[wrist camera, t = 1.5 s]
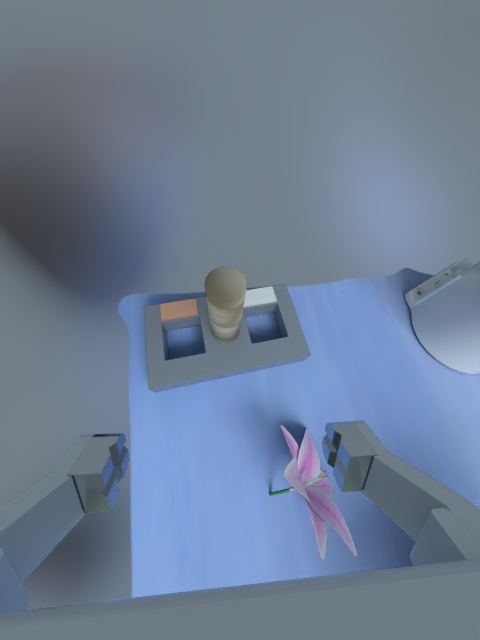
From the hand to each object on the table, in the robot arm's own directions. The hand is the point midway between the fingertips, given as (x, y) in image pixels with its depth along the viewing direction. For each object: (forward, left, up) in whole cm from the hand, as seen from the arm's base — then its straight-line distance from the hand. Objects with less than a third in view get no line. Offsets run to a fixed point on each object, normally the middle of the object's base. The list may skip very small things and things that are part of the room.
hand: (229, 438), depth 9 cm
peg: (-8, -10, -20) cm, 24 cm away
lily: (-3, +10, -23) cm, 26 cm away
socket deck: (-8, -10, -23) cm, 26 cm away
